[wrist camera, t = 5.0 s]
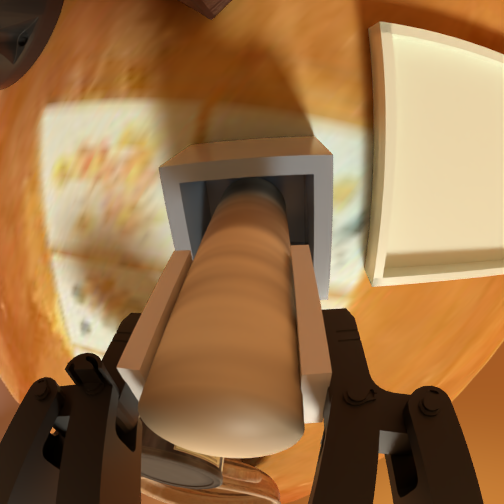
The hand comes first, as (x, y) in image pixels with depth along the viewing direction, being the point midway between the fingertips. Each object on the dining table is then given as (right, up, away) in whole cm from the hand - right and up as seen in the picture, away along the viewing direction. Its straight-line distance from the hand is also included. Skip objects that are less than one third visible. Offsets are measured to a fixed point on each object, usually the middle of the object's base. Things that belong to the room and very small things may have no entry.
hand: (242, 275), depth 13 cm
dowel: (0, +4, +7) cm, 8 cm away
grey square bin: (+1, +5, +10) cm, 11 cm away
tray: (+18, +9, +6) cm, 21 cm away
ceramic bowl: (-8, -40, +36) cm, 54 cm away
